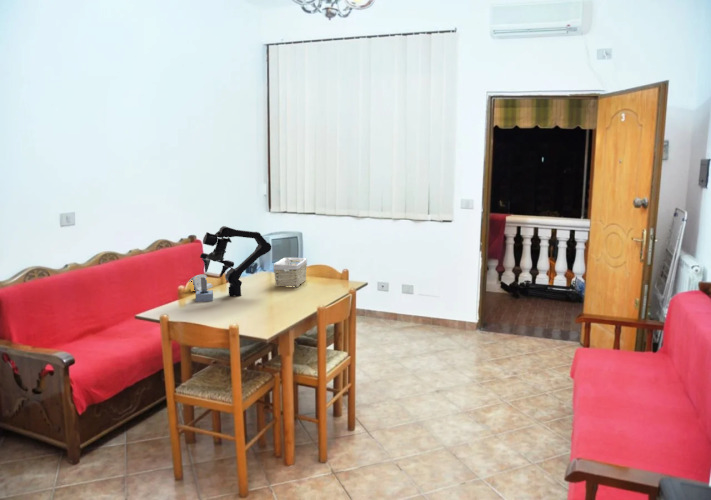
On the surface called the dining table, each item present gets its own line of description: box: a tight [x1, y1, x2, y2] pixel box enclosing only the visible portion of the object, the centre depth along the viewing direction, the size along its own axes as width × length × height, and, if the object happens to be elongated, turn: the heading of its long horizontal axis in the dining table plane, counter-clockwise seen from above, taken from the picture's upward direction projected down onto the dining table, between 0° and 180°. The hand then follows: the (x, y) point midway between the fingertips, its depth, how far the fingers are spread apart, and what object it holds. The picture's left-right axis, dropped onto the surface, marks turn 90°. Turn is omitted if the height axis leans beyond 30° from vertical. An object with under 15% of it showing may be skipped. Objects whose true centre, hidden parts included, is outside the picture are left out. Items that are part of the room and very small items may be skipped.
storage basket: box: [272, 257, 308, 288], centre depth 350 cm, size 24×16×15 cm
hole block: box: [195, 289, 214, 303], centre depth 310 cm, size 9×9×4 cm
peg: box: [201, 277, 208, 294], centre depth 309 cm, size 3×3×12 cm
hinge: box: [188, 273, 213, 292], centre depth 334 cm, size 17×5×10 cm, turn 166°
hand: (213, 274), depth 313 cm, fingers open, 9 cm apart
